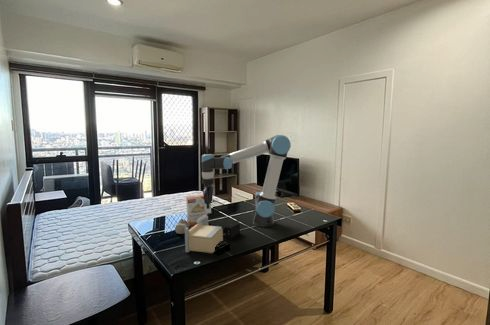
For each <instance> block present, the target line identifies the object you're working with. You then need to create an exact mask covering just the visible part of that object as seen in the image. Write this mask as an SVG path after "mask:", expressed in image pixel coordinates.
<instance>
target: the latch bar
mask: <svg viewBox="0 0 490 325" xmlns="http://www.w3.org/2000/svg"><path fill="white" fill-rule="evenodd" d="M207 216H208V213H207V214H204V215H203V216H202V217H200V218H199V219H197V220H196V223H200V222H201V221H202V220H203V219H205V218H206V217H207Z"/></svg>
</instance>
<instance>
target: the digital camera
mask: <svg viewBox="0 0 490 325" xmlns="http://www.w3.org/2000/svg"><path fill="white" fill-rule="evenodd" d="M223 233H224V234H225V235H224V236H225V238H226V239H229V240H231V239H233V238H235V237H236V236H238V235H240V234H241V224H240V223H239V222H235V221H234V222H232V223H230V224H229V225H225V226H224V227H223Z"/></svg>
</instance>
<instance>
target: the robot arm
mask: <svg viewBox="0 0 490 325" xmlns="http://www.w3.org/2000/svg"><path fill="white" fill-rule="evenodd" d="M291 144H292V143H291V141H290V139H289V138H288V137H287V136H286V135H283V134H277V135H274V136H272V137H270V138H267V139H265V140H264V141H263V142H261V143H259V144H258V143H257V144H255V145H252V146H249V147H246V148H242V149H240V150H237V151H236V150H235V151H233V152H230V153H228V154H222V155H221V156H220V157H214V155H213V154H211V153H210V154H209V153H208V154H205V153H204V154H202V155H201V177H202V179H201V183H202V185H204V187H203V189H202V195H204V202H205V204H206V211H207V214H212V203H213V198H214V186H213V185H214V184H215V182H214V181H215V180H214V179H215V178H214V176H215V175H214V173H215V172H214V170H229V169H232V167H233V166H232V165H233V164H236V163H239V162H243V161H245V160H249V159H251V158H255V157H259V156H261V155H264V154H268V155H269V161H268V165H267V169H266V173H265V178H264V182H263V187H262V189H261V191H258V192H257V191H256V192H255V196H254V198H255V199H254V201H255V202H254V203H255V205H254V206H255V212H254V216H253V219H252V224H253V225H254V226H255V227H258V228H259V227H260V228H268V227H271V226H274V224H275V219H274V216H273V215H274V213H275V211H276V209H275V204H276V200H277V197H276V191H277V188H278V183H279V180H280V175H281V171H282V168H283V167H282V166H283V163H284V160H286V159H287V156H288V154H289V151H290V149H291Z"/></svg>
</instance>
